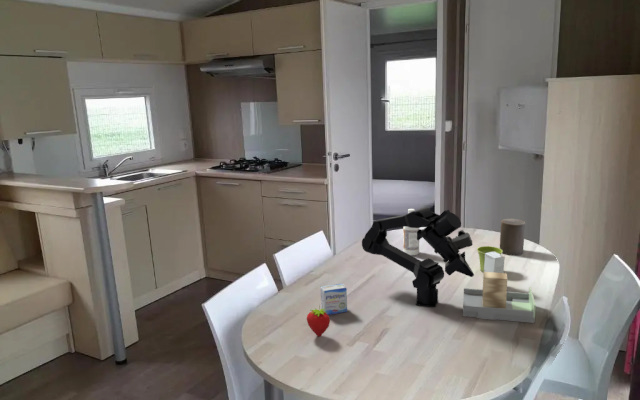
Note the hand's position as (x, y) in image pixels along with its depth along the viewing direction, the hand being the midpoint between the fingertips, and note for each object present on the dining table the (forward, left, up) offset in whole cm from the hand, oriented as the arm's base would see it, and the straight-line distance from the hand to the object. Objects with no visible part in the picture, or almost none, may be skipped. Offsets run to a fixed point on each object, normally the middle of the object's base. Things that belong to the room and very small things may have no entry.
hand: (473, 275), depth 156 cm
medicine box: (-44, -12, -11) cm, 47 cm away
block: (+7, 0, -9) cm, 11 cm away
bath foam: (-26, +50, -11) cm, 57 cm away
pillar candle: (+16, +60, -11) cm, 63 cm away
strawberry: (-44, -29, -11) cm, 54 cm away
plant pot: (+6, +35, -11) cm, 37 cm away
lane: (+8, 0, -11) cm, 14 cm away
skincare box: (+7, +20, -11) cm, 24 cm away
